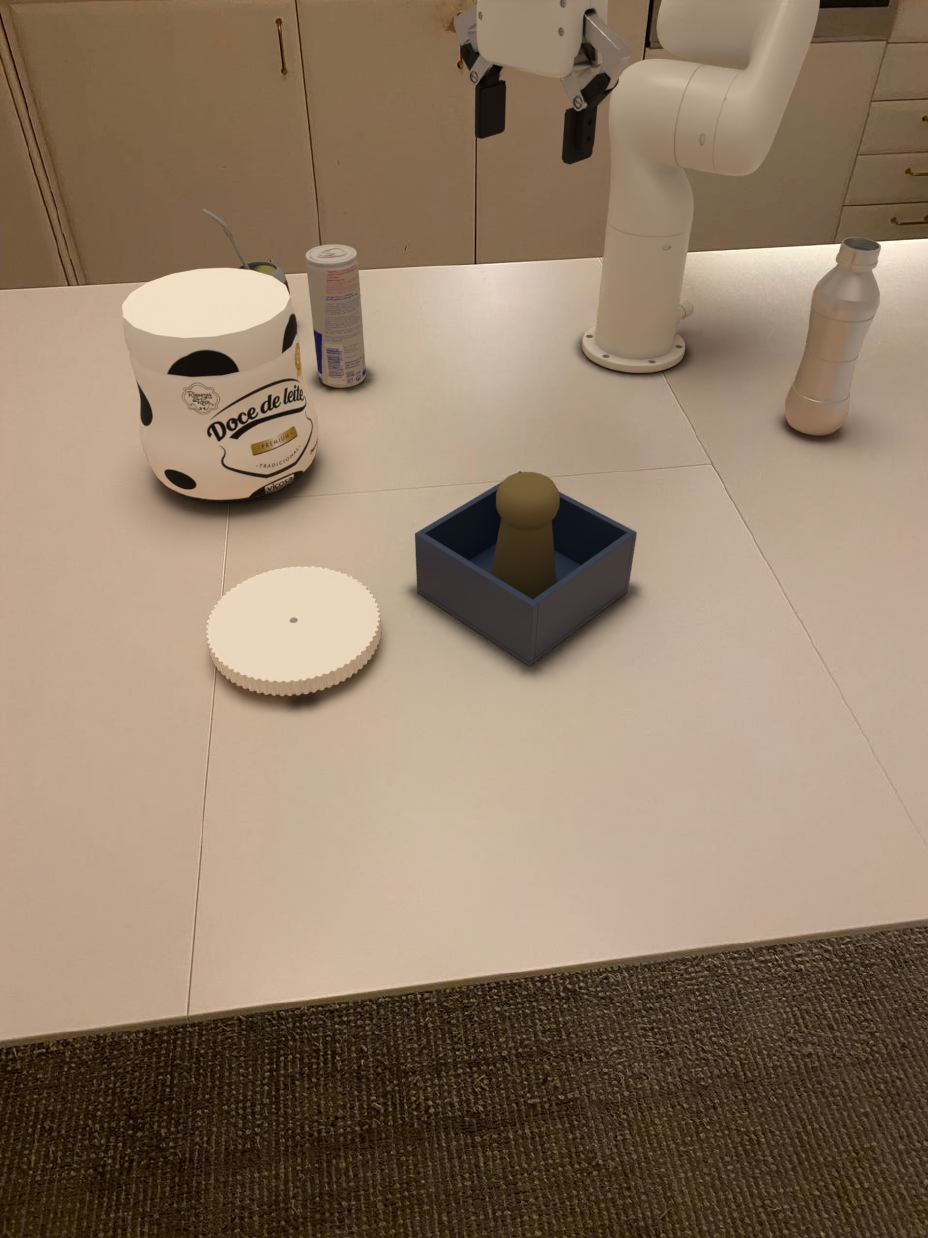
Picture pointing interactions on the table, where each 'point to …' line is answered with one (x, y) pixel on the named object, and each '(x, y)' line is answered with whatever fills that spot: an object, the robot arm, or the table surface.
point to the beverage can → (336, 314)
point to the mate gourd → (257, 266)
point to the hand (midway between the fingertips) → (532, 147)
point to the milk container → (220, 383)
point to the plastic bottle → (834, 339)
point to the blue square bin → (523, 627)
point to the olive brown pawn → (526, 533)
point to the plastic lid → (293, 630)
